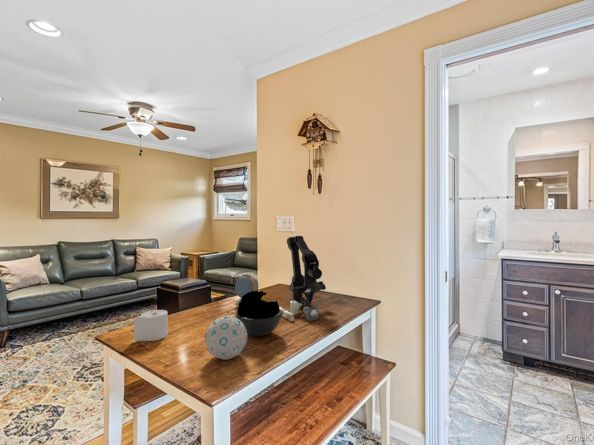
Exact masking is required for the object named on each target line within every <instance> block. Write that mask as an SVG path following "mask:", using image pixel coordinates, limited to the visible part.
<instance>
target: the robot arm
mask: <svg viewBox="0 0 594 445" xmlns="http://www.w3.org/2000/svg"><path fill="white" fill-rule="evenodd" d="M286 244H287V249H289V250H290V252H291V261H292V263H291V264H292V272H293V275H292V277H291V282H290V284H289V291H290V292H292V298H290V300H291V301H297V303H298V302H299V301H301V300H299V299H300V298H303V294H304V297H305V299H307V300H308V301H307V303H309V305H310V304H311V303H312V301H313V298H314V296H315V294H316V293H318V292H321V291H325V290H326V289H327V287H326V286H327V285H325V283H324V281H322V280H321V281H317V280H319V279H321V278H322V276H323V271H322V270H321V269H320V267H319V266H320V261H319V260H318V257H317V255H316V253H315V252H314V251H313V250H311V249H310V248H309V246H308V244H307V242H306V240H305V239H304V236H302V235H295V236H288V237H287V239H286ZM300 253H301V258H300ZM301 261H302V263H303V269H304V270H303V271H304V272H303V274H302V268H301ZM302 302H305V301H304V300H302Z"/></svg>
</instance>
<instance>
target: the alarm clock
mask: <svg viewBox="0 0 594 445" xmlns="http://www.w3.org/2000/svg"><path fill="white" fill-rule="evenodd" d="M234 287H235V292H236V294H237V296H238V297H239V300H238V301H236V302H234V303H233V305H236V306H239V303H240V302H241V299H242V296H243V295H246V293H248V292H251V291H256V290H257V291H258V292H259V283H258V280H257V279H256V278H255V277H254V276H253V275H251V274H249V273H244V274H242V275H241V276H240V277H238V278H237V280H236V281H235V286H234Z"/></svg>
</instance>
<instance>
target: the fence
mask: <svg viewBox="0 0 594 445" xmlns="http://www.w3.org/2000/svg"><path fill="white" fill-rule="evenodd" d="M279 309H281V311H282V316H281V317H283V318H284V319H286V320H287V321H289V322H293V321H295V315H294V314H292V313H290V311H288V310H287V309H286V308H283V307H281V306H279Z"/></svg>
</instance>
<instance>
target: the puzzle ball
mask: <svg viewBox="0 0 594 445" xmlns="http://www.w3.org/2000/svg"><path fill="white" fill-rule="evenodd" d="M247 341H248V333H247V331H246V328H245V326H244V325H243V323H242V322H241V321H240V320H239V319H237V318H236V316H232V315H231V316H230V315H225V316H221V317H218V318H216V319H215V320H214V321H212V322H211V324H210V325H209V326H208V327H207V330H206V332H205V341H204V342H205V346H206V349H207V351H208V353H209V354H210V355H212V357H215V358H217V359H220V360H224V361H229V360H231V359H233V358H235V357H237V356H238V355H240V354H241V353H242V352H243V350H244V349H245V347H246V344H247Z"/></svg>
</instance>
